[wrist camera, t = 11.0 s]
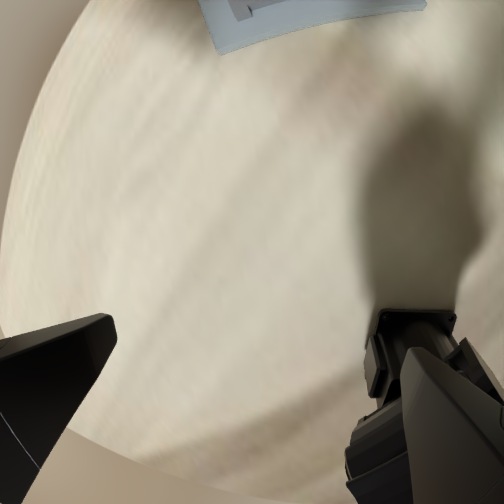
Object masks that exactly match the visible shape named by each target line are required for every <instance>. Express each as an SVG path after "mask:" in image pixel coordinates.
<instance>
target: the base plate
mask: <svg viewBox="0 0 504 504" xmlns="http://www.w3.org/2000/svg"><path fill="white" fill-rule="evenodd" d="M198 3H199V5H200V8H201V11H202V13H203V16H204V19H205V21H206V24H207V27H208V29H209V32H210V35H211V38H212V40H213V43H214V46H215V49H216V51H218V52H219V53H220V54H221V55H224V54H226V53H229V52H231V51H234V50H237V49H240V48H242V47H245V46H248V45H251V44H254V43H257V42H260V41H263V40H266V39H269V38H272V37H276V36H279V35H282V34H286V33H289V32H293V31H297V30H300V29H304V28H308V27H312V26H317V25H321V24H325V23H330V22H335V21H340V20H345V19H351V18H357V17H363V16H369V15H377V14H385V13H394V12H405V11H419V10H423V9H424V8H425V6H426V5H427V2H426V1H425V0H198Z"/></svg>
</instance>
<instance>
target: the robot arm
mask: <svg viewBox="0 0 504 504" xmlns="http://www.w3.org/2000/svg"><path fill="white" fill-rule="evenodd" d="M385 314H387V315H388V316H387V317H386V318H383V316H384V315H385ZM450 316H452V318H451V319H449V317H450ZM456 318H457V316H456V314H455V313H454V312H453V311H444V310H406V309H383V310H381V311H380V312H379V314H378V319H377V324H376V329H375V333H374V335H372V336H371V337H370V338H369V342H368V346H367V351H366V355H365V359H364V369H365V379H366V382H367V389H368V395H369V397H370V398H376V401H377V407H378V409H377V410H376V411H374V412H373V413H371V414H370V415H368V416H364V417H363V418H361V419H359V421H358V424H357V426H356V428H355V429H354V431H353V432H352V435H351V440H350V446H348V447H346V449H345V469H346V474H347V477H348V480H349V481H347V482H346V486H347V488H348V489H349V490H350V492H351V493H352V494H353V496H354V497H355V499H356V501H357V503H358V504H504V390H503V388H502V386H501V385H500V383H499V382H498V380H497V378H496V377H495V375H494V374H493V372H492V371H491V369H490V368H489V367H488V365H487V364H486V363H485V361H484V360H483V359H482V357H481V356H480V355H479V354H478V352H477V351H476V350H475V348H474V347H473V346H472V345H471V343H470V342H469V341H468V340H467V338H466V337H465V338H464V339H463V340H462V341H461V342H460V343H459V344H460V345H459V346H458V344H457V342H456V341H455V339H454V337H453V336H452V332H453V328H454V325H455V322H456ZM116 343H117V333H116V329H115V324H114V320H113V317H112V316H111V315H109V314H104V313H98V314H95V315H91V316H88V317H84V318H80V319H77V320H73V321H69V322H66V323H62V324H58V325H54V326H51V327H47V328H43V329H40V330H36V331H32V332H28V333H24V334H21V335H17V336H13V337H12V338H11V337H9V338H5V339H1V340H0V503H1V504H21V503H22V502H23V500H24V498H25V496H26V494H27V492H28V490H29V489H30V487H31V485H32V483H33V482H34V480H35V478H36V476H37V475H38V473H39V471H40V469H41V467H42V466H43V464H44V462H45V461H46V459H47V457H48V456H49V454H50V452H51V451H52V449H53V447H54V446H55V444H56V442H57V441H58V439H59V437H60V436H61V434H62V433H63V431H64V429H65V428H66V426H67V425H68V423H69V422H70V420H71V418H72V417H73V415H74V414H75V412H76V411H77V409H78V407H79V406H80V404H81V403H82V401H83V400H84V398H85V397H86V395H87V394H88V392H89V391H90V389H91V388H92V386H93V385H94V383H95V382H96V380H97V378H98V377H99V375H100V373H101V371H102V369H103V368H104V366H105V364H106V362H107V360H108V358H109V356H110V354H111V353H112V351H113V349H114V347H115V345H116Z"/></svg>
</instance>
